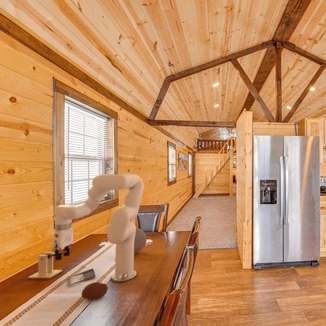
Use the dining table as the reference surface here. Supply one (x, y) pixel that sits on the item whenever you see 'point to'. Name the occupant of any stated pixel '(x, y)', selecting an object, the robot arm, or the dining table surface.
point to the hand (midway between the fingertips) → (62, 257)
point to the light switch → (86, 275)
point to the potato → (94, 291)
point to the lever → (54, 254)
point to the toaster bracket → (45, 267)
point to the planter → (139, 240)
